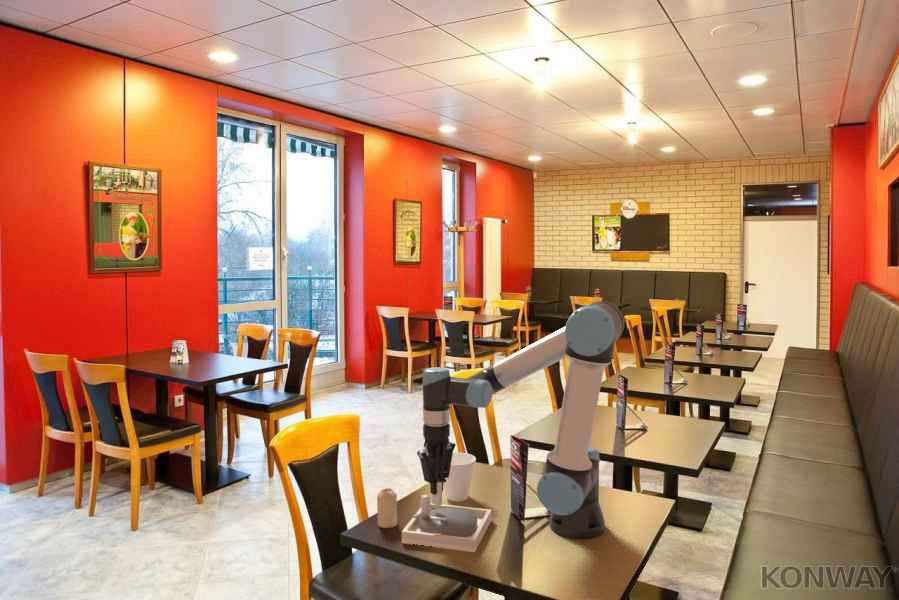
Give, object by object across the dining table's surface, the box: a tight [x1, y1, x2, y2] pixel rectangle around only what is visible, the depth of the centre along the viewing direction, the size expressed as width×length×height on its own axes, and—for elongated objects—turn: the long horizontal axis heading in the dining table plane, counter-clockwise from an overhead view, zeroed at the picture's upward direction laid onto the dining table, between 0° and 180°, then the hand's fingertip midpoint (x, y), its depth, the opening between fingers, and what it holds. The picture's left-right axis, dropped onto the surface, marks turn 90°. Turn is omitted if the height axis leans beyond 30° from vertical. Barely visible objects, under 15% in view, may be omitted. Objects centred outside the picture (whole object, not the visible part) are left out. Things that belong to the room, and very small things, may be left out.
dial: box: [419, 494, 477, 537], centre depth 184 cm, size 16×16×8 cm
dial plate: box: [401, 502, 492, 553], centre depth 184 cm, size 20×20×4 cm
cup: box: [443, 452, 477, 502], centre depth 208 cm, size 12×12×12 cm
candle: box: [376, 488, 398, 529], centre depth 189 cm, size 6×6×10 cm
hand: (437, 503), depth 190 cm, fingers closed
